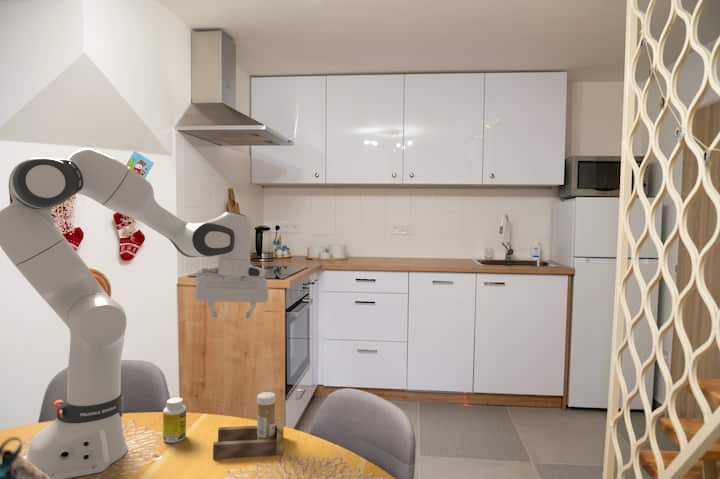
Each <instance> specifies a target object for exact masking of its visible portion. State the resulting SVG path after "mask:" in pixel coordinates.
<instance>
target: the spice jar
mask: <svg viewBox="0 0 720 479" xmlns="http://www.w3.org/2000/svg"><path fill="white" fill-rule="evenodd" d="M256 399H257V400H256V403H257V416H256V417H257V423H256V424H257V425H256V426H257V435H258V440H263V439H275V435H274V434H275V425H276V424H275V423H276V419H275V418H276V416H275V415H276V414H275V413H276V412H275V410H276V409H275V408H276V407H275V404H276V394H275V393H274V392H271V391H264V392H260V393H259V394H257V398H256Z"/></svg>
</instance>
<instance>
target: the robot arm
mask: <svg viewBox="0 0 720 479" xmlns="http://www.w3.org/2000/svg"><path fill="white" fill-rule="evenodd" d="M8 193H9V204H8V206H6V207H4V208H2V209H1V210H0V248H1V250H2V251H3V252H4V253H5V255H6V256H7V258H8V259H9V260H10V262H11V263H12V264H13V265H14V266H15V268H17V270H18V271H19V272H20V273H21V274H22V276H23V277H24V278H25V279H26V281H27V282H28V283H29V284H30V285H31V286H32V288H34V290H35V291H36V292H37V294H39V296H41V298H42V299H43V300H44V301H45V302H46V303H47V304H48V306H49V307H50V309H52V311H54V313H56V314H57V316H58V317H59V318H60V319H61V320H62V322H63V323H64V324H65V325H66V326H67V328H68V329H69V331H70V332H69V334H70V342H69V356H68V365H67V368H66V369H67V376H66V377H67V389H66V390H67V395H66V396H67V399H66V400H65V401H64V400H62V399H57V400H55V401H54V402H53V409H54V410H56V419H53V421H52V422H51V423H49V424H48V425H47V426H45V427H44V428H43V429H41V430H40V431H39V432H38V433H37V434H35V435H34V437H33V438H32V439H31V441H30V443H29V446H28V450H27V453H26V455H24V456H23V457H22V458H24V459H26V460H27V461H29V462H30V463H32V464H33V465H35V467H37V468H38V469H39V470H41V471H42V472H44V473H45V474H47V475H48V476H49V478H50V479H72V478H76V477H81V476H88V475H92V474H98V473H102V472H103V471H105V470H107V469H108V468H109V466H110V465H112V464H113V463H114V462H116V461H118V460H120V459H121V458H122V457H123V456H124V455H126V453H127V452H128V449H129V448H128V444H127V442H126V437H125V433H124V429H123V428H124V426H123V422H122V421H123V420H122V417H123V412H124V397H123V393H122V392H121V382H122V381H121V371H122V370H121V368H122V366H121V364H122V356H123V350H124V342H125V335H126V334H125V333H126V329H127V316H126V312H125V309H124V308H123V306H121V304H120V303H118V302H117V301H115V299H113V298H111V296H109V294H108V293H107V292H106V291H105V289H104V288H103V287H102V285H101V284H100V283H99V281H98V279H97V278H96V277H95V274H93V272H92V271H91V270H90V268H89V267H88V265H87V264H86V263H85V261H84V260H83V259H82V257H81V256H80V255H79V254H78V252H77V251H76V250H75V248H74V247H73V246H72V245H71V243H70V242H69V241H68V240H67V238H66V237H65V236H64V235H63V234H62V233H63V232H61V231H60V229H59V228H58V227H57V225H56V224H55V222H54V220H53V217H52V212H53V208H55V207H58V206H59V205H62V204H64V203H65V202H67V201H68V200H69V199H71V197H74V196H75V195H76V194H77V195H81V196H84V197H88V198H90V199H91V200H93V201H95V202H96V203H98V204H100V205H102V206H103V207H106V208H107V209H109V210H112V211H113V212H115V213H118V214H120V215H123V216H124V217H128V218H130V219H133V220H136V221H139V222H140V223H142V224H144V225H146V226H147V227H149V228H151V229H152V230H153V231H155V232H157V233H159V234H161V236H163V237H165V238H166V239H168V240H169V242H171V243H172V245H173V246H174V248H175V249H176V250H177V251H178V252H179V253H180V254H181V255H183V256H185V257H188V258H211V257H216V256H218V262H217V268H205V267H204V268H201V269H199V270H198V271H196V274H195V283H196V284H197V285H196V286H195V287H196V289H195V294H194V295H195V296H194V298H195V300H197V301H198V302H207V306H208V308H209V310H210V311H211V315H210V316H211V319H214V318H215V319H216V318H219V315H218V313H219V310H216V309H215V308H214V305H215V303H216V302H217V303H228V302H229V303H249V304H250V307H251V308H250V309H249V311H245V315H246V316H245V319H252V312H253V310H254V309H255V308H256V306H257V303H260V304H261V303H262V304H266V303H267V302H268V301H269V284H268V281H267V278H266V277H265V276H266V269H264V268H261V267H259V266H257V265H253V264H251V255H250V249H251V247H252V246H251V245H252V225H251V220H250V218H249V217H248V216H246V215H245V214H243V213H238V212H234V211H233V212H232V211H225V212H223V213H222V214H221V215H220V216H218V217H215V218H212V219H210V220H206V221H204V222H202V221H201V222H191V221H190V222H189V221H184V220H182V219H180V218H179V217H177V216H176V215H175V214H173V213H172V212H170V211H168V210H167V209H165V208H164V207H163V206H161V205H160V204H159V203H158V202H157V201H156V199H155V194H154V188H153V186H152V184H151V183H150V182H149V181H148V180H147V179H145V177H144V176H143V175H141V174H140V173H138V172H137V171H135V170H134V169H132V168H131V167H130V166H128V165H126V164H124V163H123V162H120V161H119V160H117V159H115V158H114V157H111V156H109V155H107V154H105V153H103V152H100V151H99V150H95V149H94V148H91V147H90V148H86V147H84V148H81V149H78V150H76V151H75V152H73V153H72V154H71V155H70V156H69V157H68V158H67V159H65V158H55V157H46V156H40V157H37V156H36V157H31V158H29V159H26V160H24V161H22V162H20V163H19V164H17V165H16V166H15V167H14V168H13V169H12V171H11V173H10V175H9V178H8Z"/></svg>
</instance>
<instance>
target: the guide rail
mask: <svg viewBox="0 0 720 479" xmlns="http://www.w3.org/2000/svg"><path fill="white" fill-rule="evenodd" d="M284 425H285V421H284V420H277V424H275V434H274V435H275V439H263V440H258V435H257V425H242V426H224V427H223V426H221V427H218V430H217V441H214V442H213V445H212V460H224V459H225V460H226V459H241V458H258V457H260V458H261V457H278V456H284V435H285V434H284V431H285V428H284V427H285V426H284Z"/></svg>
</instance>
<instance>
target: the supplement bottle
mask: <svg viewBox="0 0 720 479" xmlns="http://www.w3.org/2000/svg"><path fill="white" fill-rule="evenodd" d="M162 411H163V412H162V419H163V420H162V440H163V441H164V442H165V443H168V444H170V443H171V444H174V443H179V442H182V441H183V440H184V439H185V438H186V436H187V407H186V406H185V405H184V399H183V398H182V397H171V398H168V399H167V401H166V407H164V409H163V410H162Z"/></svg>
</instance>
